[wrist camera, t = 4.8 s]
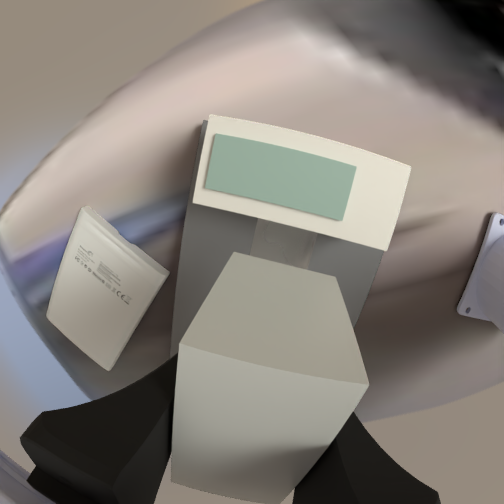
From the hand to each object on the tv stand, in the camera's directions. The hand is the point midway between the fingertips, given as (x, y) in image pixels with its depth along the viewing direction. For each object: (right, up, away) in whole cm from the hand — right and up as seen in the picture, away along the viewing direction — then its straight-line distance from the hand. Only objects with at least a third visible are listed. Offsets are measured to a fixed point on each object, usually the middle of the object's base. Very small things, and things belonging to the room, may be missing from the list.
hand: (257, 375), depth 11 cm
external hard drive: (-13, +1, +12) cm, 17 cm away
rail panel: (+1, +3, +8) cm, 9 cm away
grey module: (0, +1, +2) cm, 2 cm away
